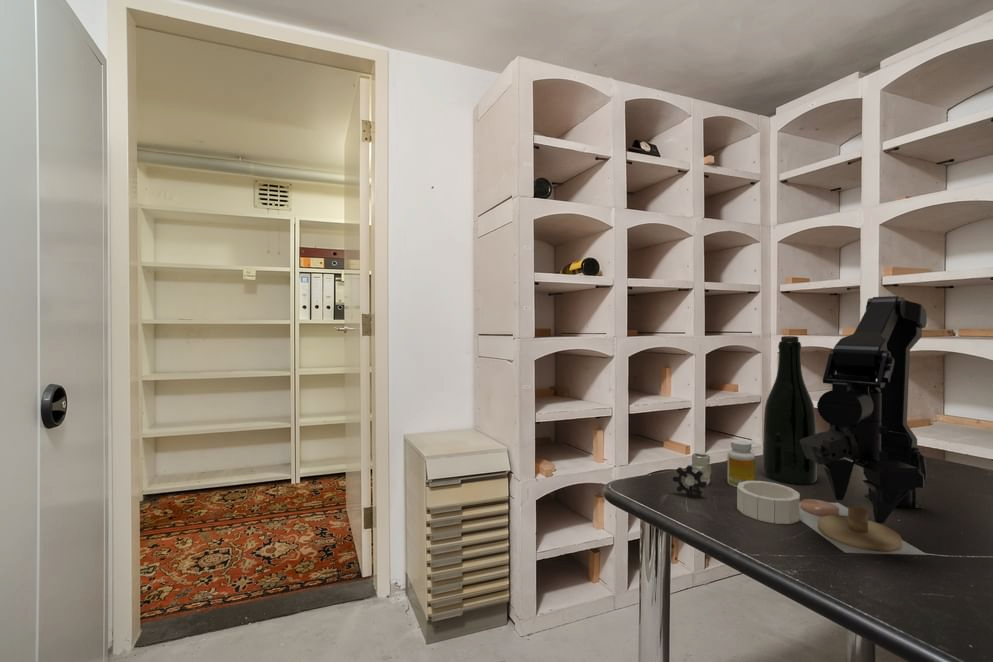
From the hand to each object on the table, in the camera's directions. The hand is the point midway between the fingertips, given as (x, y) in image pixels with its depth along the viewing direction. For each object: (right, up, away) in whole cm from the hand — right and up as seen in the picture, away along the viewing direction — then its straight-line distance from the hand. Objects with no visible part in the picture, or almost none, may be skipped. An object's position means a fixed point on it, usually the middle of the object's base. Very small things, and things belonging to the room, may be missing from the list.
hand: (858, 510), depth 76 cm
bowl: (-9, -4, +10) cm, 14 cm away
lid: (0, -4, 0) cm, 4 cm away
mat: (0, -5, +4) cm, 6 cm away
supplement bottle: (-6, -4, +24) cm, 26 cm away
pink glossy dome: (+1, -4, +10) cm, 11 cm away
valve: (-17, -5, +23) cm, 29 cm away
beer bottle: (+7, -4, +29) cm, 30 cm away
